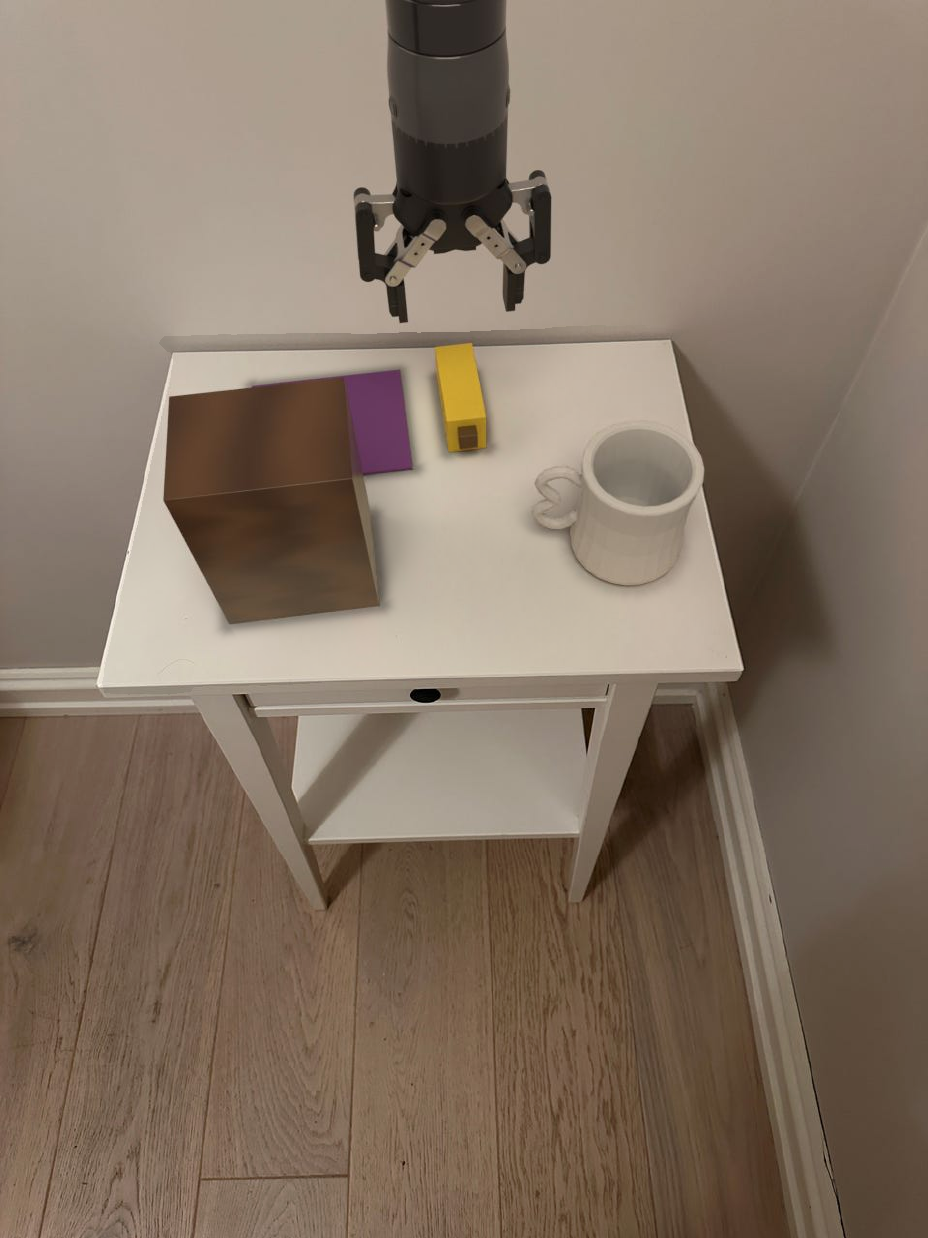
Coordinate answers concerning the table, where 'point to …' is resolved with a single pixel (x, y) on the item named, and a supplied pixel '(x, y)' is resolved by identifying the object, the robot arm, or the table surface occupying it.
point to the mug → (628, 500)
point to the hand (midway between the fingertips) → (455, 310)
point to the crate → (272, 498)
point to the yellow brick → (460, 397)
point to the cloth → (377, 420)
